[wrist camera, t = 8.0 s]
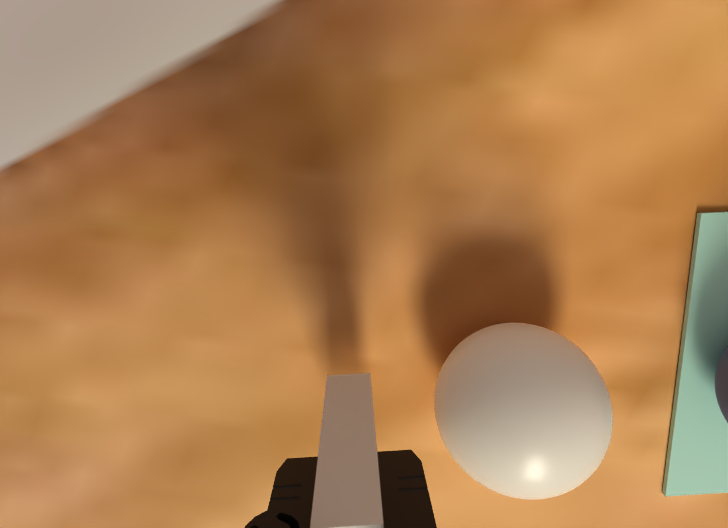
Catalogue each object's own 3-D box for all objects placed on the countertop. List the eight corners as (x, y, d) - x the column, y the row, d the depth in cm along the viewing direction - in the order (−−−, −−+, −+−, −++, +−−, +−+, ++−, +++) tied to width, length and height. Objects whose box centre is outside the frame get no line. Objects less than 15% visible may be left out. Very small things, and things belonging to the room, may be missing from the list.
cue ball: (638, 553, 12) (586, 435, 17) (645, 366, 11) (587, 299, 16) (433, 534, 13) (443, 429, 19) (421, 364, 12) (434, 303, 17)
